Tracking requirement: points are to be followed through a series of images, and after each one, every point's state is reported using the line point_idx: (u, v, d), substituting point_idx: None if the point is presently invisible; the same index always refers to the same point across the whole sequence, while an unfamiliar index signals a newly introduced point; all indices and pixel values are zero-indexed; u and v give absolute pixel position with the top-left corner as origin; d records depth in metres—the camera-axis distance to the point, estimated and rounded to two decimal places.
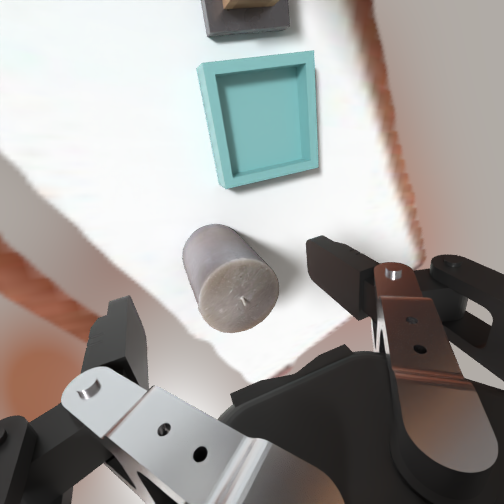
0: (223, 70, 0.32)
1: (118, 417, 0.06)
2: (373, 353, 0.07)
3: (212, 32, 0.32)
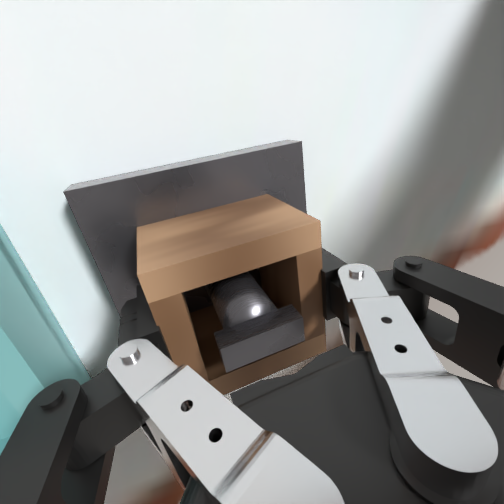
0: None
1: (150, 387, 0.07)
2: (354, 358, 0.07)
3: (69, 199, 0.11)
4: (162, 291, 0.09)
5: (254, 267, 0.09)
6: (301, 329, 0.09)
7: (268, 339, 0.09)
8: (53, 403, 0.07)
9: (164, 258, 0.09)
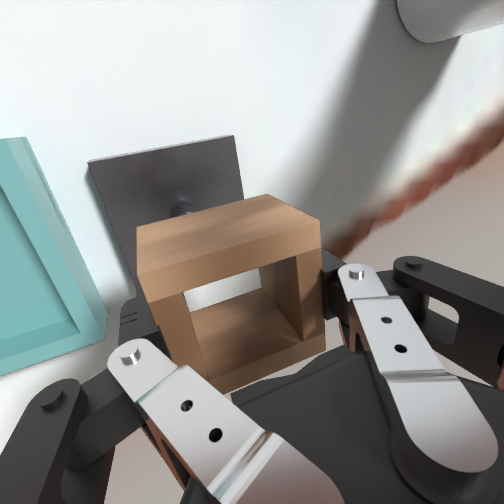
0: (7, 185, 0.16)
1: (151, 387, 0.07)
2: (354, 358, 0.07)
3: (90, 167, 0.19)
4: (162, 291, 0.09)
5: (254, 267, 0.09)
6: None
7: None
8: (53, 403, 0.07)
9: (164, 257, 0.09)
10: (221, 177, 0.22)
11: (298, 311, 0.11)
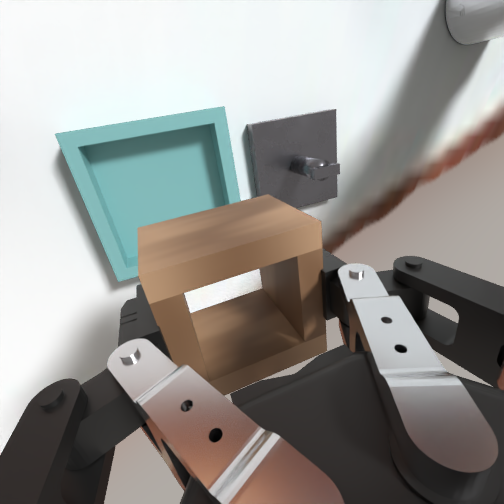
0: (219, 134, 0.27)
1: (151, 386, 0.07)
2: (354, 358, 0.07)
3: (251, 127, 0.29)
4: (163, 292, 0.09)
5: (255, 268, 0.09)
6: (338, 168, 0.28)
7: (328, 169, 0.27)
8: (53, 403, 0.07)
9: (165, 258, 0.09)
10: (324, 138, 0.32)
11: (299, 312, 0.11)
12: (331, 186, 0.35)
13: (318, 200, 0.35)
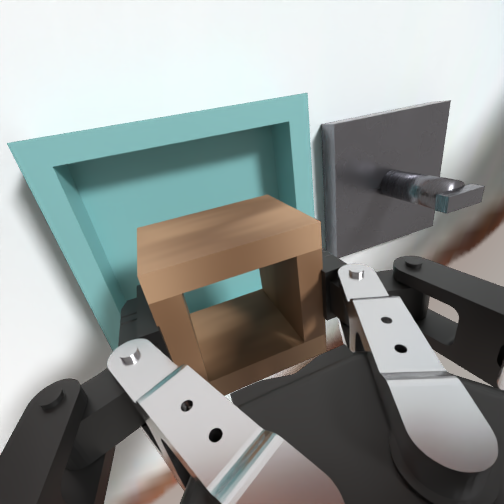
0: (295, 141, 0.16)
1: (151, 386, 0.07)
2: (354, 358, 0.07)
3: (333, 129, 0.19)
4: (162, 292, 0.09)
5: (254, 268, 0.09)
6: (481, 194, 0.17)
7: (468, 196, 0.17)
8: (53, 403, 0.07)
9: (165, 259, 0.09)
10: (429, 143, 0.22)
11: (299, 312, 0.11)
12: (427, 211, 0.24)
13: (409, 232, 0.25)
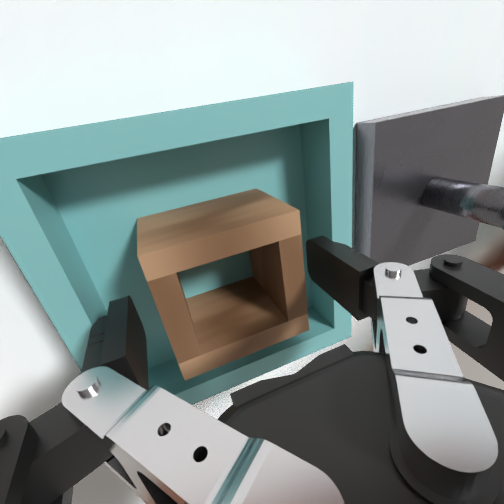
0: (335, 144, 0.13)
1: (118, 417, 0.06)
2: (373, 353, 0.07)
3: (374, 128, 0.15)
4: (159, 271, 0.10)
5: (240, 251, 0.11)
6: None
7: None
8: None
9: (161, 242, 0.10)
10: (480, 146, 0.18)
11: (282, 293, 0.12)
12: (471, 224, 0.21)
13: (449, 248, 0.21)
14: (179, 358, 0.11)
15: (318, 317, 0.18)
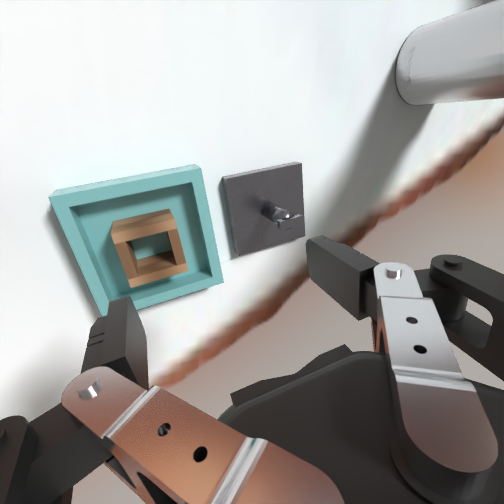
0: (196, 191, 0.30)
1: (118, 417, 0.06)
2: (373, 353, 0.07)
3: (226, 181, 0.33)
4: (119, 240, 0.27)
5: (151, 234, 0.28)
6: (302, 220, 0.32)
7: (292, 221, 0.31)
8: None
9: (120, 230, 0.27)
10: (292, 187, 0.36)
11: (173, 253, 0.30)
12: (299, 227, 0.39)
13: (288, 239, 0.39)
14: (128, 277, 0.29)
15: (207, 272, 0.36)
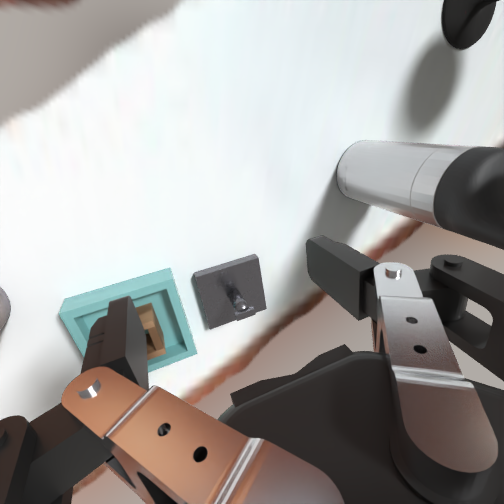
0: (170, 294, 0.39)
1: (118, 417, 0.06)
2: (373, 353, 0.07)
3: (196, 278, 0.42)
4: None
5: None
6: (254, 311, 0.41)
7: (246, 313, 0.40)
8: None
9: None
10: (251, 275, 0.45)
11: None
12: (260, 302, 0.48)
13: None
14: None
15: (184, 345, 0.45)
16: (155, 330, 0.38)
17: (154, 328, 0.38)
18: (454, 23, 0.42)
